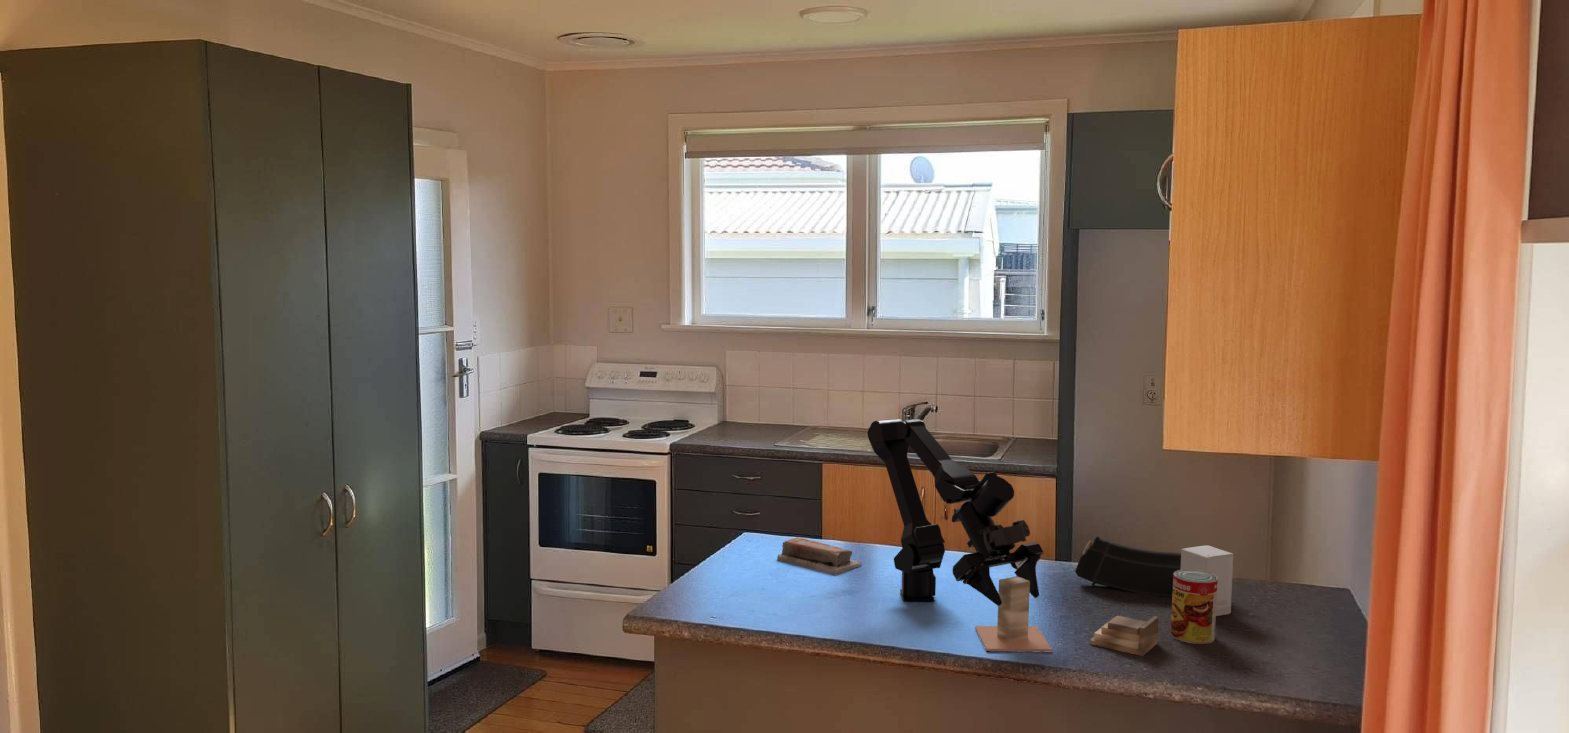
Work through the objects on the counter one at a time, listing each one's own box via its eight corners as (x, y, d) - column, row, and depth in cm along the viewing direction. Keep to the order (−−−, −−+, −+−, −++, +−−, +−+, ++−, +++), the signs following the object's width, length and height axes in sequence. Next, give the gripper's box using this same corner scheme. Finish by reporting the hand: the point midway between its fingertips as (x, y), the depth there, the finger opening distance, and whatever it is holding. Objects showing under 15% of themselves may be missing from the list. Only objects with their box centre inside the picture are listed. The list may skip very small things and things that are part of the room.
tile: (986, 651, 201) (986, 648, 201) (975, 628, 213) (975, 625, 213) (1051, 652, 201) (1052, 649, 201) (1036, 629, 213) (1037, 626, 213)
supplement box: (1231, 614, 223) (1235, 553, 222) (1203, 618, 220) (1206, 557, 219) (1205, 603, 230) (1208, 544, 228) (1177, 607, 227) (1180, 547, 226)
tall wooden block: (997, 636, 207) (998, 579, 206) (1015, 632, 210) (1016, 576, 208) (1009, 642, 204) (1011, 584, 203) (1027, 638, 207) (1029, 581, 205)
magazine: (1239, 558, 231) (1099, 505, 240) (1239, 562, 228) (1098, 508, 237) (1210, 631, 235) (1073, 575, 244) (1210, 636, 232) (1071, 579, 241)
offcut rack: (1089, 644, 206) (1090, 617, 205) (1105, 632, 212) (1106, 605, 211) (1142, 656, 200) (1144, 628, 199) (1157, 643, 206) (1158, 616, 205)
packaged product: (775, 541, 258) (802, 533, 265) (775, 561, 258) (802, 552, 266) (836, 556, 246) (862, 547, 254) (836, 577, 247) (862, 567, 254)
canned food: (1166, 628, 214) (1169, 568, 213) (1207, 630, 214) (1211, 570, 212) (1176, 643, 207) (1179, 580, 205) (1219, 645, 206) (1223, 582, 204)
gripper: (964, 512, 203) (1003, 587, 195) (1038, 501, 212) (1079, 571, 204) (936, 544, 210) (972, 617, 202) (1009, 531, 220) (1046, 601, 212)
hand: (1018, 600), depth 205 cm, fingers open, 9 cm apart
